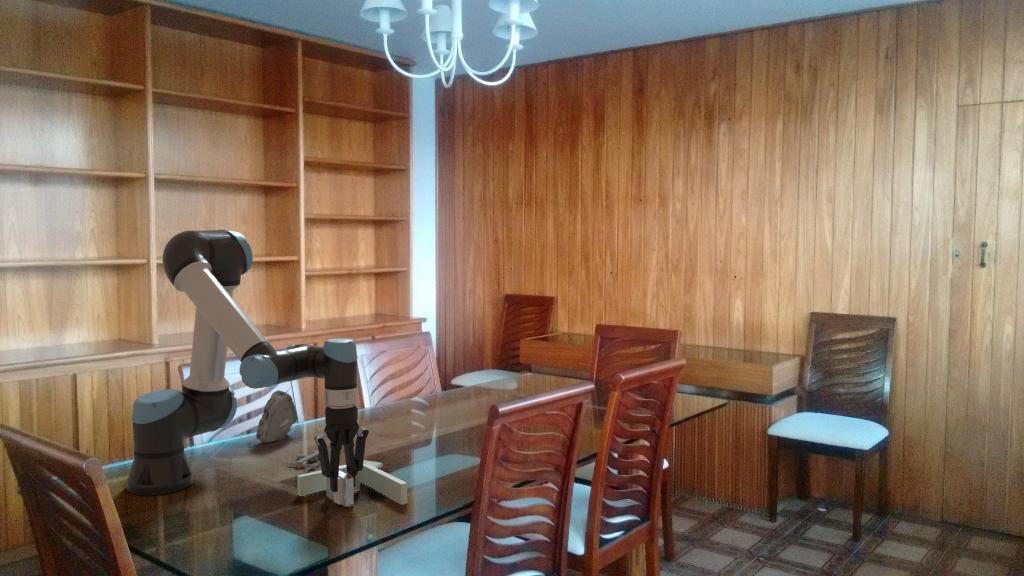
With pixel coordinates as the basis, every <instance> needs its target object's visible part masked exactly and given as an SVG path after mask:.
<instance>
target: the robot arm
mask: <svg viewBox="0 0 1024 576" xmlns="http://www.w3.org/2000/svg"><path fill="white" fill-rule="evenodd" d="M253 257H254V256H253V250H252V247H251V245H250V243H249V241H248V239H247V238H246V236H244V235H243V234H242V233H240V232H238V231H237V230H236V231H235V230H229V229H228V230H227V229H207V230H184V231H181V232H179V233H177V234H175V235H174V236H172V237H171V238H170V239H169V240H168V242H167V243H166V244H165V247H164V249H163V253H162V260H161V261H162V267H163V270H164V273H165V275H166V277H167V279H168V280H169V282H170V283H171V284H172V286H173V287H174V289H176V290H177V291H178V292H183V293H184V294H185V295H186V296H187V297H188V299H189V300H190V301H191V302H192V304H193V305H194V306H195V314H194V315H195V316H194V326H193V338H192V346H191V347H192V348H191V356H190V357H191V358H190V369H189V375H188V376H187V377H186V378H184V379H183V380H182V385H181V390H179V389H175V388H173V389H172V388H168V389H162V390H155V391H151V392H147V393H145V394H142V395H140V396H139V397H137V398H136V399H135V400H134V401H133V403H132V411H131V412H132V414H131V421H132V440H133V444H132V445H133V460H132V463H131V467H130V470H129V474H128V477H127V480H126V488H127V489H126V490H127V492H129V493H130V494H131V495H136V496H159V495H161V496H162V495H167V494H173V493H177V492H180V491H182V490H185V489H187V488H189V487H190V486H191V485H192V484H193V483H194V479H193V471H192V469H191V466H190V464H189V461H188V458H187V456H186V453H185V439H189V438H192V437H195V436H196V437H197V436H199V435H202V434H207V433H212V432H216V431H217V430H219V429H222V428H225V427H227V426H228V425H230V423H232V421H233V419H234V418H235V416H236V413H237V408H238V401H237V397H236V396H235V395H236V393H235V391H234V390H233V389H232V387H230V385H231V384H230V382H229V380H227V378H226V377H225V372H226V362H227V355H228V354H227V353H228V348H229V349H230V350H231V352H232V353H233V354H234V355H235V356H236V358H237V359H238V361H240V365H239V371H238V372H239V375H240V376H241V382H242V383H243V384H244V385H245V386H246V387H248V388H250V389H252V390H255V389H265V388H270V387H272V386H276V385H279V384H284V383H288V382H294V381H297V380H298V381H299V380H302V379H305V378H317V379H323V380H324V381H323V383H324V405H326V407H325V408H324V415H325V417H324V419H325V420H324V422H325V428H324V430H323V432H322V433H321V434H320V435H319V436H318V435H315V437H314V442H315V444H316V445H317V450H318V451H319V457H320V459H319V463H320V468H321V469H320V471H321V470H322V475H324V476H325V477H327V478H330V489H331V491H333V492H334V501H333V503H334V502H335V503H337V504H342V478H340V477H338V476H339V466H340V460H341V451H342V449H344V450H343V451H344V457H345V465H346V468H347V472H348V475H349V476H351V477H353V483H354V487H355V476H356V475H357V474H358V473H357V472H358V471H361V470H362V469H363V462H364V460H365V451H366V440H367V438H368V435H369V432H370V430H369V429H366V428H363V427H360V425H359V423H358V420H359V412H358V411H359V408H358V407H359V406H358V405H357V403H358V377H357V376H358V353H357V351H358V350H357V343H356V342H355V340H353V339H352V338H330V339H327V340H325V341H324V342H323V345H322V346H321V345H313V344H306V343H300V344H299V343H295V344H290V345H288V346H287V347H286V348H285V349H278V350H276V349H275V348H274V347H273V345H272V344H271V343H270V342H269V340H267V338H266V337H265V336H264V335H263V333H261V331H260V330H259V329H258V328H257V326H256V325H255V324H254V323H253V321H252V320H251V319H250V318H249V317H248V315H247V313H245V312H244V310H243V309H242V307H241V306H239V304H238V303H237V302H236V301H235V299H234V298H233V295H234V291H235V290H236V289H237V288H239V286H240V285H241V279H242V276H243V275H245V274H247V273H248V272H249V270H250V269H251V268H252V266H253V259H254V258H253ZM355 437H356V439H355ZM354 439H355V443H354ZM328 440H329V442H330V455H329V450H328V446H327V443H328ZM354 447H355V448H354ZM354 449H355V450H354ZM346 474H347V473H346ZM335 503H334V504H335Z"/></svg>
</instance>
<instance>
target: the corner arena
mask: <svg viewBox="0 0 1024 576" xmlns="http://www.w3.org/2000/svg"><path fill="white" fill-rule="evenodd" d="M296 477H297V478H296V479H297V483H296V484H297V496H298V495H299V496H304V497H306V496H305V495H308V494H312V493H315V492H319V491H323V490H327V488H326V477H325V476H324V475H322V470H321V469H320V470H318V471H316V470H315V471H312V472H308V473H306V472H305V473H303V474H302V473H301V474H297V476H296ZM361 483H362V484H361ZM360 484H361V485H363V484H365V485H367V486H369V487H371V488H373V489H375V490H376V491H378V492H380V493H382V494H383V495H382V494H381V495H382V496H384V495H385V496H384V497H385V498H387V497H388V499H389V500H391V501H393V502H395V503H397V504H399V505H401V506H403V505H407V504H408V482H406V481H404V480H402V479H401V478H397V476H393V475H392V474H390V473H388V472H385V471H383V470H381V468H379V469H378V468H376V467H373V466H371V465H369V464H367V463H365V462H363V469H362V470H361V471H360ZM365 485H364V486H365ZM367 486H366V487H367ZM369 487H368V488H369ZM371 488H370V489H371ZM376 491H375V492H376ZM378 492H377V493H378ZM380 493H379V494H380ZM312 495H313V494H312ZM299 496H298V497H299ZM308 496H309V495H308Z"/></svg>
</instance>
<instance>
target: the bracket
mask: <svg viewBox="0 0 1024 576" xmlns="http://www.w3.org/2000/svg"><path fill="white" fill-rule="evenodd" d="M346 473H347V474H346ZM357 473H358V474H357V475H356V476H355V487H354V483H353V477H351V476H349V475H348V472H347V468H346V464H342V465H339V476H338V477H340V478H342V504H344V505H346V506H347V505H350V504H354V505H355V501H354V500H355V499H354V497H355V494H354V492H358V491H360V492H361V483H360V471H358V472H357ZM326 488H327V491H326V497H327V496H328V497H330V498H332V499H334V492H333V491H331V489H330V478H327V477H326ZM328 497H327V498H328Z"/></svg>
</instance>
